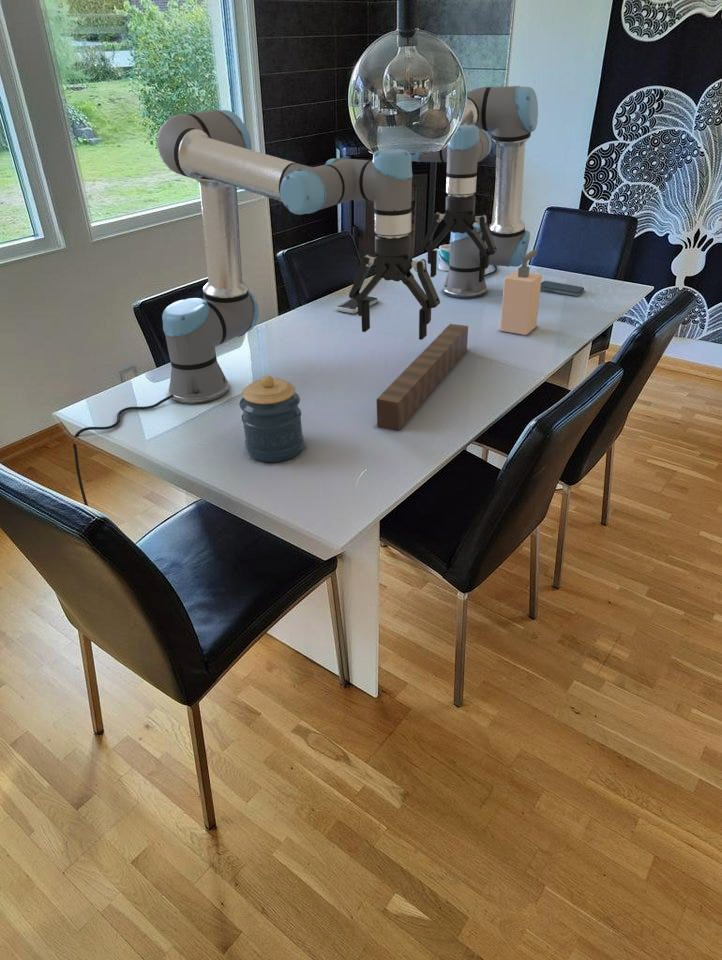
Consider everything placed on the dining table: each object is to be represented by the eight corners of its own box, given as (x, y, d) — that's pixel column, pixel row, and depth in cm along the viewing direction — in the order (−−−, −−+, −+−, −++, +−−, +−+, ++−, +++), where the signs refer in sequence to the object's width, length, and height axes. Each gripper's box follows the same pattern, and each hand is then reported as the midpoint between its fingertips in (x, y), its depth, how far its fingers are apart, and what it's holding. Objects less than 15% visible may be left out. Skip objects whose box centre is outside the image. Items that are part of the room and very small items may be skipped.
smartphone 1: (378, 298, 234) (353, 310, 224) (378, 301, 235) (353, 314, 225) (360, 294, 238) (335, 306, 228) (360, 298, 239) (335, 310, 228)
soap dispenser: (526, 335, 203) (534, 261, 191) (499, 330, 207) (505, 258, 195) (541, 322, 212) (549, 251, 200) (515, 318, 216) (521, 248, 204)
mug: (435, 269, 266) (435, 247, 261) (448, 261, 274) (449, 240, 270) (453, 271, 262) (454, 249, 258) (466, 264, 270) (467, 242, 266)
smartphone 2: (578, 293, 231) (536, 285, 238) (577, 297, 232) (536, 290, 239) (585, 287, 236) (544, 280, 243) (584, 291, 237) (543, 284, 244)
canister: (251, 467, 144) (240, 393, 134) (242, 439, 155) (232, 368, 145) (310, 457, 147) (303, 383, 137) (297, 430, 157) (291, 360, 148)
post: (398, 430, 156) (398, 402, 152) (377, 426, 158) (376, 399, 154) (466, 349, 196) (468, 325, 192) (449, 347, 198) (450, 323, 194)
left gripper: (457, 233, 135) (453, 334, 146) (346, 226, 144) (350, 321, 156) (445, 242, 129) (441, 346, 141) (330, 234, 139) (336, 332, 150)
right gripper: (513, 193, 168) (506, 278, 180) (419, 189, 177) (418, 270, 189) (505, 199, 163) (498, 286, 174) (409, 194, 172) (409, 277, 183)
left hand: (393, 333), depth 148 cm, fingers open, 13 cm apart
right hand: (457, 278), depth 182 cm, fingers open, 13 cm apart
